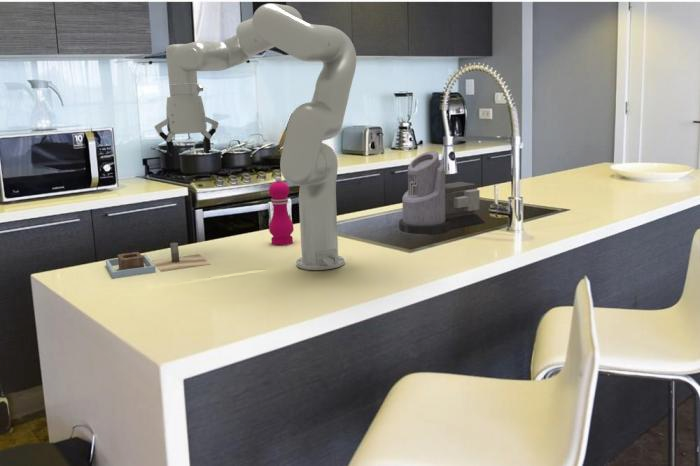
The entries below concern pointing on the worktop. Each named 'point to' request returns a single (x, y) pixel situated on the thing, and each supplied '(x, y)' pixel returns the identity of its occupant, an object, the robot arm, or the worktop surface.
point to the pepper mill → (280, 214)
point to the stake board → (179, 260)
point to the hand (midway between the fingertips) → (189, 154)
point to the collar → (130, 261)
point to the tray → (130, 271)
